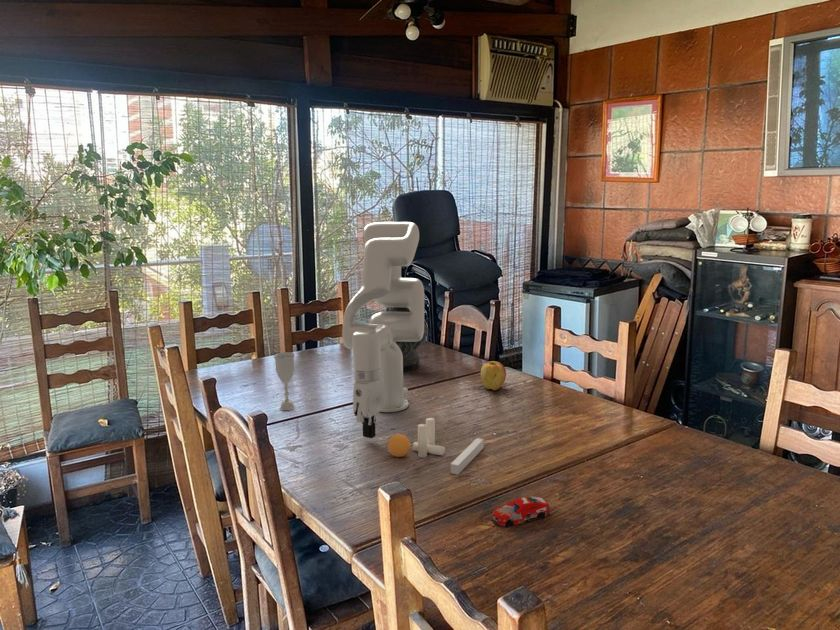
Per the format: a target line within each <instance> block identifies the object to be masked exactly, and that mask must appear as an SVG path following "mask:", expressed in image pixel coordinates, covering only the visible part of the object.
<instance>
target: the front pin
mask: <svg viewBox="0 0 840 630" xmlns="http://www.w3.org/2000/svg"><path fill="white" fill-rule="evenodd" d="M412 451H415V452H418V441H414V442H413V444H412ZM445 452H446V448H445V446H443V445H436V444H435V445H431V444H427V454H431V455H435V456H444V455H445Z"/></svg>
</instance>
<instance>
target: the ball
mask: <svg viewBox="0 0 840 630" xmlns="http://www.w3.org/2000/svg"><path fill="white" fill-rule="evenodd" d="M410 442H411V441H410V440H409V437H408V436H406V435H405V434H401V433H397V434H394V435H392V436H391V437H390V438H389V439H388V442H387V450H388V451H389V453H390V454H391V455H392V456H393V457H396V458H402V457H405V456H406V455H407V454H408V453H409V451H410V448H411V443H410Z"/></svg>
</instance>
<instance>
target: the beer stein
mask: <svg viewBox="0 0 840 630" xmlns="http://www.w3.org/2000/svg"><path fill="white" fill-rule="evenodd" d="M388 312H410V309H409V308H401V307H392V309H390V310H389V311H388ZM428 332H429V331H428V324H427V322H426V320H425V319H424V335H423V338H422V339H421V340H420V341H417V342H395V343H396V344H397V345H398V346H399V348H400V349H401V352H402V355H403V371H405V372H409V371H408V370H411V371H413V369H414V370H416V369H418V367H419V364H420V356H419V353H418V348H419V346H421V345H422V344H423V342H424V341H425V340H426V338H427V335H428ZM415 368H416V369H415Z"/></svg>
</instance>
